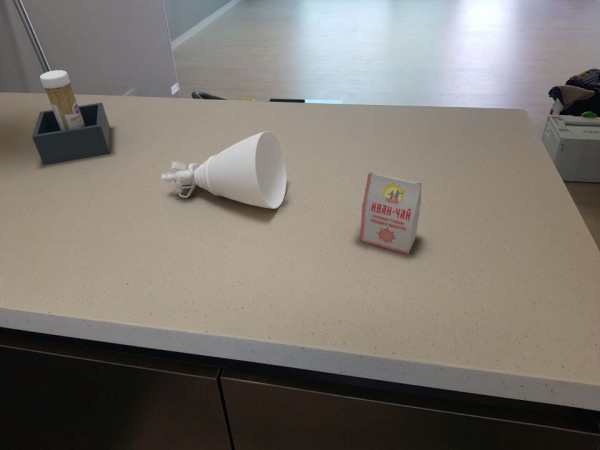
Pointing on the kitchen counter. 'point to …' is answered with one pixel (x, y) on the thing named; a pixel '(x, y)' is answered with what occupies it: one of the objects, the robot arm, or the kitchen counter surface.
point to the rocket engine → (239, 172)
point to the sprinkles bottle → (62, 99)
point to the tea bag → (390, 212)
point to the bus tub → (72, 136)
